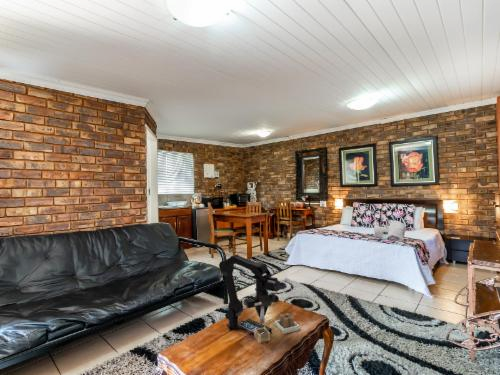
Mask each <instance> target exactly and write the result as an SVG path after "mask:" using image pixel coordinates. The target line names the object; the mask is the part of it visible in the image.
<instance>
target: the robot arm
mask: <svg viewBox="0 0 500 375" xmlns="http://www.w3.org/2000/svg"><path fill="white" fill-rule="evenodd" d="M235 264H236V265H237V266H240V267H242V268H245V269H247V270H250V272H251V273H252V274H253V276H252V279H254V280H255V288H254V290H255V295H254V298H255V299H252V298H251V297H248V298H245V299H244V300H243V301H242V300H240V299H239V298H238V294H237V289H236V284H235V280H234V275H233V273H234V269H235V266H234V265H235ZM267 265H268V264H266V263H265V262H260V261H259V262H257V261H253V260H250V259H247V258H245V257H243V256H240V255H239V254H233V255H231V256H230V257H229V258H226V259H224V260H222V261H220V262H219V264H218V267H219V271H220V273H221V274H222V275H223V277H224V281H225V284H226V291H227V295H228V300H229V301H228V305H227V306H228V307H227V308H228V311H227V312H226V313H225V314H224V317H225V319H226V320H228V324H226V327H227V328H228V330H229V331H233V330H234V331H235V330H238V329H241V326H240V325H239V316H241V315H242V313H243V311H244V306H245V307H246V308H247V309H251V308H255V312H256V314H257V316H258V318H259V317H260V305H259V304H260V303H262V305H263V306H264V317H265V316H266V314H267V310H268V308H269V307H271V306H272V304H274V303H279V301H280V299H279V296H278V294H276V293H277V292H278V291H279V289H280V287H281V283H280V280H278V277H273V275H272V273H271V271H270V270H269V268H268V266H267ZM268 291H272V292H276V293H269V292H268ZM243 305H244V306H243ZM239 326H240V327H239Z"/></svg>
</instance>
